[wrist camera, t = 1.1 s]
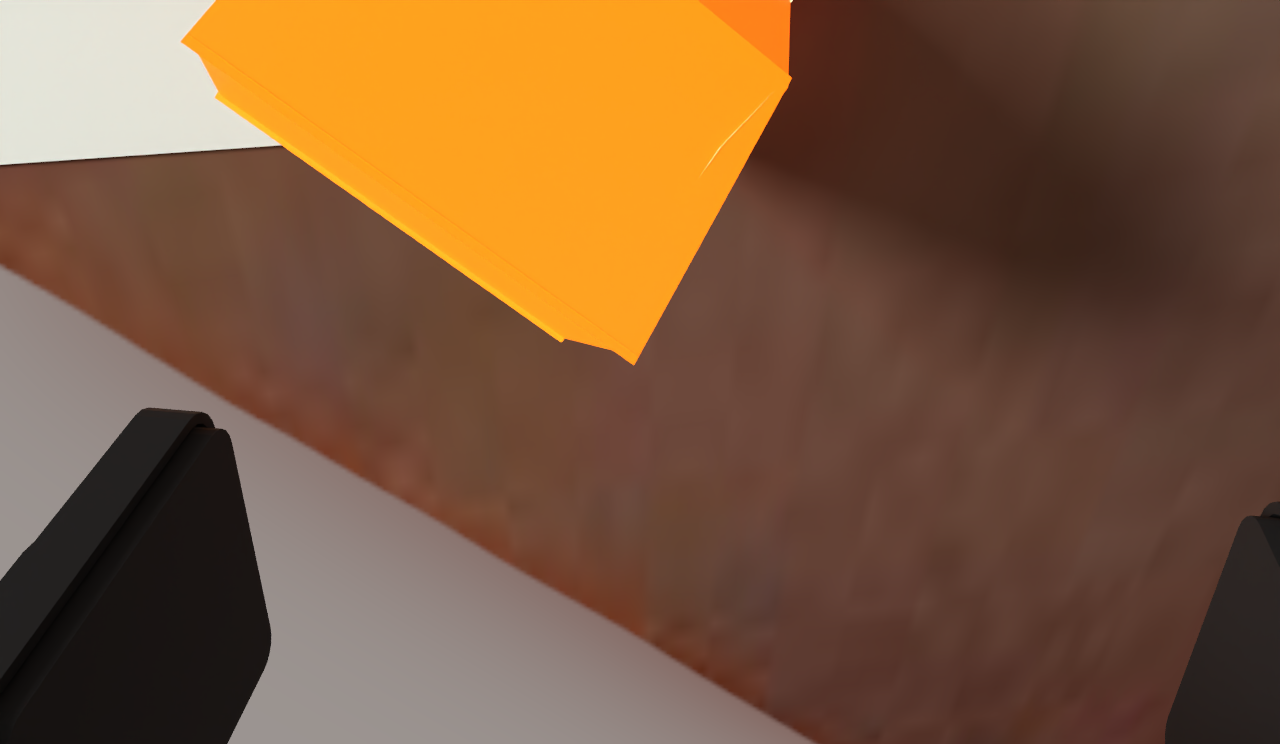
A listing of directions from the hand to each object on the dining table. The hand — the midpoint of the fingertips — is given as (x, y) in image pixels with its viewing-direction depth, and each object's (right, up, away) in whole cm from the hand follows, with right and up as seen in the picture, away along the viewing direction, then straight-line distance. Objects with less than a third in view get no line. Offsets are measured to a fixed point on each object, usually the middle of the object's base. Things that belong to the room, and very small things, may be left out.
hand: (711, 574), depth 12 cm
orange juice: (-2, +15, +25) cm, 29 cm away
